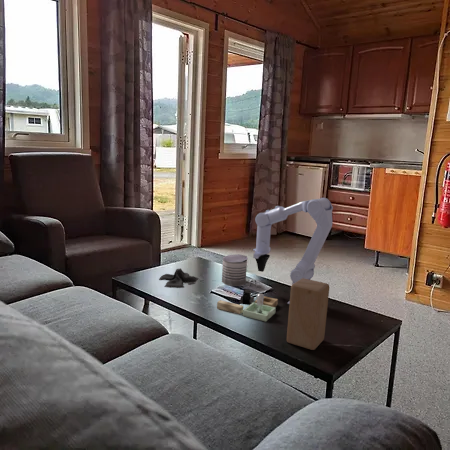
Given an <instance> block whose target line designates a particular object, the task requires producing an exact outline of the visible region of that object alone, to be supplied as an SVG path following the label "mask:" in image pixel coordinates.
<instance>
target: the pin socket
mask: <svg viewBox="0 0 450 450" xmlns="http://www.w3.org/2000/svg"><path fill="white" fill-rule="evenodd" d="M278 302H279V299H278V298H274V297H268V296H265V295H264V299H263V305H267V306H271V307H275V308H277V306H278ZM254 303H257V299H255V301H254Z"/></svg>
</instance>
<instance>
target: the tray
mask: <svg viewBox="0 0 450 450" xmlns="http://www.w3.org/2000/svg"><path fill="white" fill-rule="evenodd" d="M256 305H257V303H255V301H253V303H252V304H250V305H247V307H245V308H243V313H242V316H243V317H247V318H251V319H253V320H257V321H263V322H267V321H268V320H270V319H271V318H272V317H273V316H274V315H275V314H276V310H277V309H276V308H277V307H271V306H267V305H263V310H262V314H260V313H256Z"/></svg>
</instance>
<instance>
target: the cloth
mask: <svg viewBox="0 0 450 450" xmlns="http://www.w3.org/2000/svg"><path fill="white" fill-rule="evenodd" d="M158 280H159V281H167V282H166V283H165V285H164V288H177V289H178V288H179V289H181V288H182V289H183V288H185V286H184V283H185V284H186V283H187V285H188V286H191V285H195V284H196V281H197V282H198V280H199V278H198V277H196V276H194V275H193V276H192V275H190V274H189V273H188V272H185V271H183V270H182V268H176V269H175V271H174V273H173V274H169V273H165V274H162V275H160V277H159V278H158Z"/></svg>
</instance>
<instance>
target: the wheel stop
mask: <svg viewBox="0 0 450 450" xmlns="http://www.w3.org/2000/svg"><path fill="white" fill-rule="evenodd" d="M216 309H218V310H221V311H226V312H229V313H233V314H238V315H241V314H243V310H244V305H243V304H239V303H238V304H237V303H233V302H229V301H225V300H221V299H219V300H218V301H217V302H216Z"/></svg>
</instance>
